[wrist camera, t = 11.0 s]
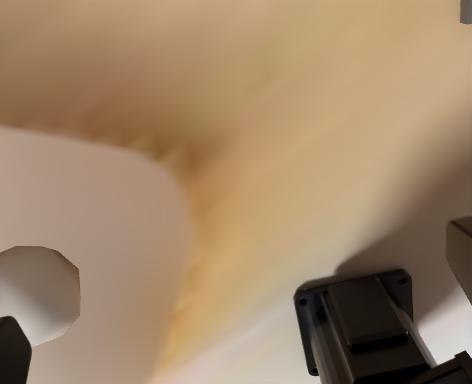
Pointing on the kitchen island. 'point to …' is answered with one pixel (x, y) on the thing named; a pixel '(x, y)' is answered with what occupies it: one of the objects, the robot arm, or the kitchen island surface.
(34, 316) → the tube
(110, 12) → the kitchen island surface
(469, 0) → the socket
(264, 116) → the kitchen island surface
